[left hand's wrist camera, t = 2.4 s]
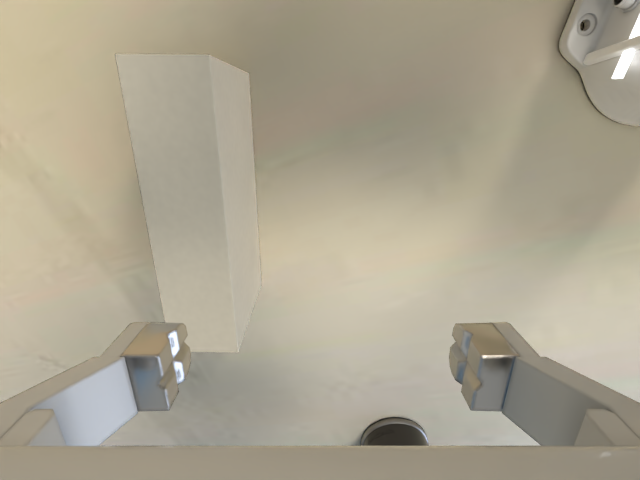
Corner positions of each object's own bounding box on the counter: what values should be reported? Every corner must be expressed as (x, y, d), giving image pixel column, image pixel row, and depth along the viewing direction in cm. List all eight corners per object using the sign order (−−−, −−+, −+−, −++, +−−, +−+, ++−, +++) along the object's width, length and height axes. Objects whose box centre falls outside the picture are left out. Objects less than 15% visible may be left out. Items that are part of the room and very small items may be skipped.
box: (187, 72, 32) (114, 53, 21) (249, 72, 32) (209, 54, 21) (212, 284, 40) (169, 352, 29) (262, 285, 40) (238, 353, 29)
